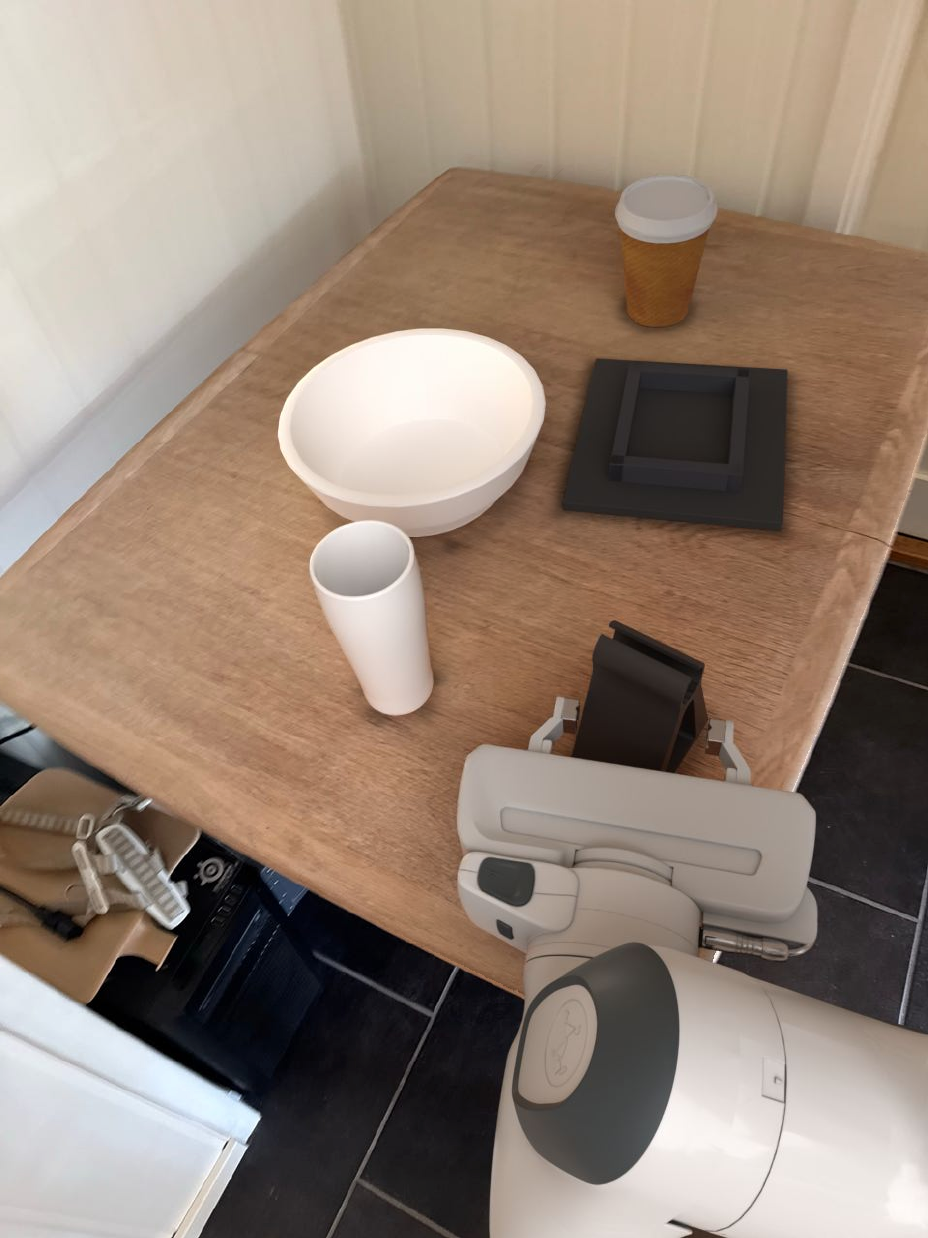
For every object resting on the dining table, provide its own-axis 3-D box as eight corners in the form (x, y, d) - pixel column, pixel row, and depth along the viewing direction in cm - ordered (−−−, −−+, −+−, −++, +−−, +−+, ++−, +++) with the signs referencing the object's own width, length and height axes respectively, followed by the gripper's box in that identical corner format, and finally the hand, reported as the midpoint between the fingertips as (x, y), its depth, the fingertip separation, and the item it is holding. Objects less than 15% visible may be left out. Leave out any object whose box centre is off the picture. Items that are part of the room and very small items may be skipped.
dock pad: (785, 377, 83) (791, 350, 81) (780, 531, 72) (787, 505, 69) (595, 366, 87) (596, 340, 85) (562, 510, 76) (561, 485, 73)
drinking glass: (403, 637, 69) (367, 502, 57) (463, 685, 66) (437, 552, 54) (337, 691, 67) (285, 562, 55) (396, 744, 63) (354, 619, 51)
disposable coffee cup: (710, 333, 88) (726, 218, 79) (615, 340, 89) (619, 227, 80) (697, 280, 94) (711, 167, 85) (607, 287, 95) (611, 176, 86)
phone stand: (633, 683, 64) (642, 578, 55) (708, 722, 62) (731, 619, 52) (566, 776, 60) (564, 680, 51) (643, 821, 58) (656, 729, 48)
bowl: (282, 579, 74) (253, 510, 67) (320, 406, 88) (299, 334, 81) (550, 571, 72) (547, 498, 65) (546, 394, 85) (544, 319, 79)
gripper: (831, 951, 43) (829, 710, 51) (428, 873, 47) (483, 663, 55) (805, 987, 48) (806, 762, 55) (442, 913, 52) (491, 715, 60)
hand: (643, 712), depth 55 cm, fingers open, 8 cm apart
